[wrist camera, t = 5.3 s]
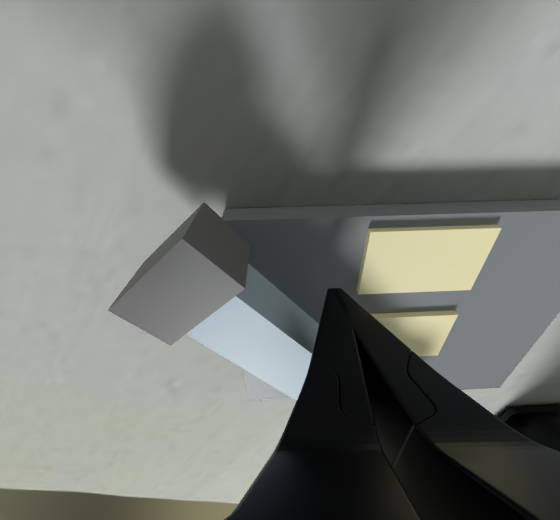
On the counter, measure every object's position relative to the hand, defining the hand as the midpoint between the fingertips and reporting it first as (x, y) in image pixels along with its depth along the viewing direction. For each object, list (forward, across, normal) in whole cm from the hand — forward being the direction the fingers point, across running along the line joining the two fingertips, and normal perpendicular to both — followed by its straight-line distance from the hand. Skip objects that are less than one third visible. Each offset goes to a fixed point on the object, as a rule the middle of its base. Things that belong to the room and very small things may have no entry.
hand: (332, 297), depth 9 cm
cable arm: (+1, 0, +4) cm, 4 cm away
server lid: (+3, -4, +4) cm, 6 cm away
